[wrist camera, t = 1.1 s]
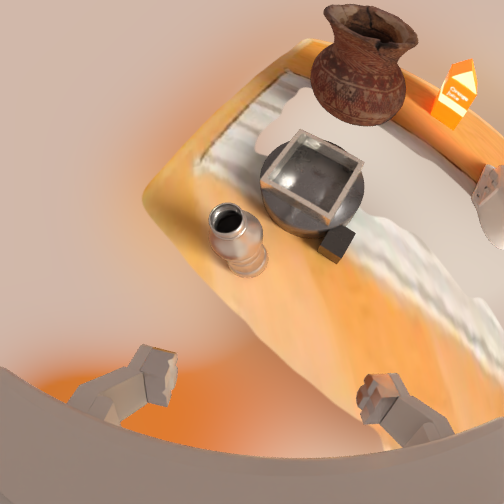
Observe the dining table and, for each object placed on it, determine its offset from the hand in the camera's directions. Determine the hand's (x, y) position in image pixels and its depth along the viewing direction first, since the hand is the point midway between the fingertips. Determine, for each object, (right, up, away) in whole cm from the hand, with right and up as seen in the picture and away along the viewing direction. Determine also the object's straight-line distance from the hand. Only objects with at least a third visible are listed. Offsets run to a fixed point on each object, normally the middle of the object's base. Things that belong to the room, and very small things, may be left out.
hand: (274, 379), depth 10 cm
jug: (+23, +40, +44) cm, 63 cm away
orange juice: (+50, +42, +41) cm, 77 cm away
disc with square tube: (+10, +16, +39) cm, 43 cm away
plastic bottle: (-1, +3, +37) cm, 37 cm away
